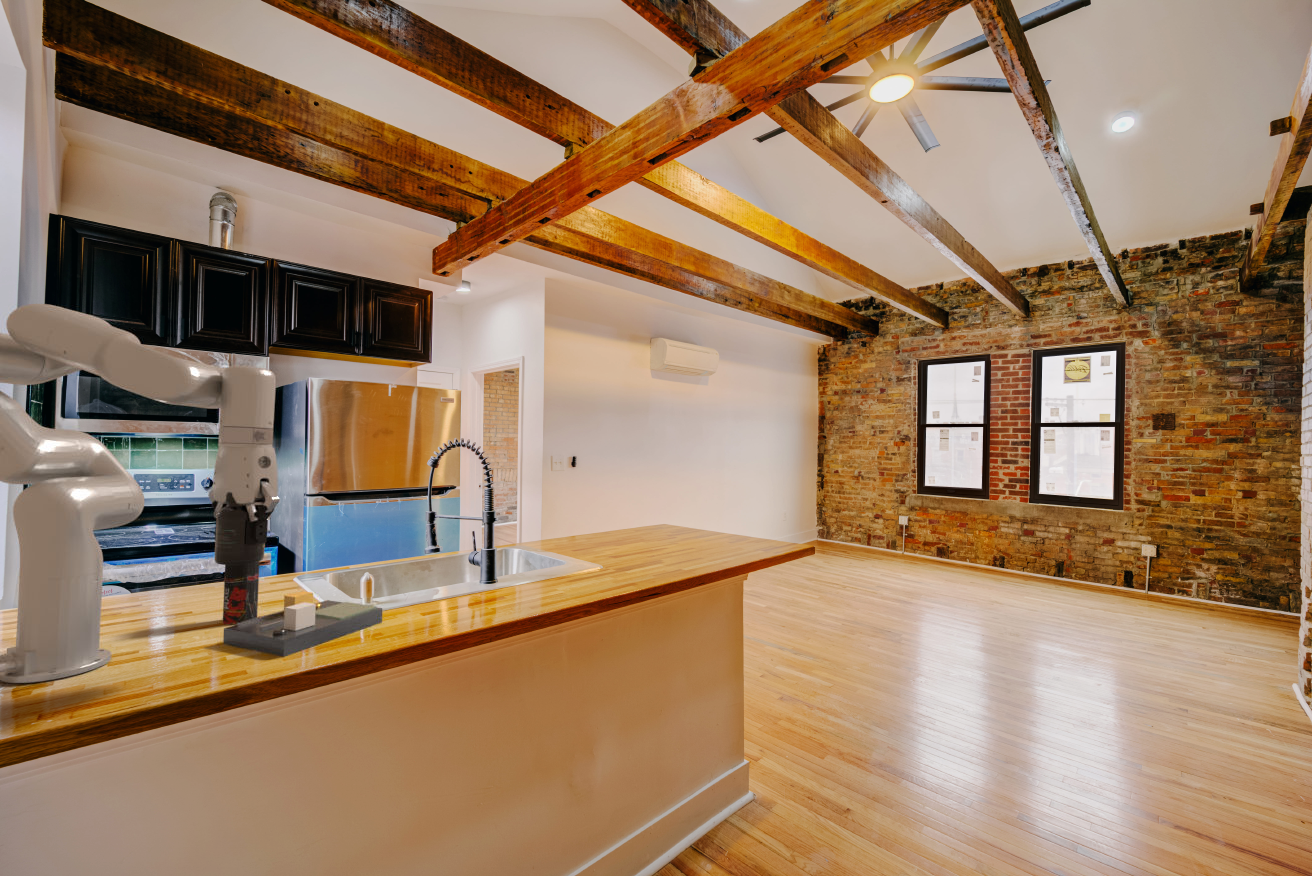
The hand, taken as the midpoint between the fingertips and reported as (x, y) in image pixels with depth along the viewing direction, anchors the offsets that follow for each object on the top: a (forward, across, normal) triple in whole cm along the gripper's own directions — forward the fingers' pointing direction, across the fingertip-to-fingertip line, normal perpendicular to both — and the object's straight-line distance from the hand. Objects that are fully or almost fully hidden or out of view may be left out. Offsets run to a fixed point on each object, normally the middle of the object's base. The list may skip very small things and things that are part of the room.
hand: (240, 541), depth 95 cm
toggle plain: (+18, +1, -12) cm, 22 cm away
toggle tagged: (+18, +9, -18) cm, 27 cm away
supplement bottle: (+4, 0, 0) cm, 4 cm away
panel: (+21, +4, -17) cm, 28 cm away
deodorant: (+22, +24, -17) cm, 37 cm away
